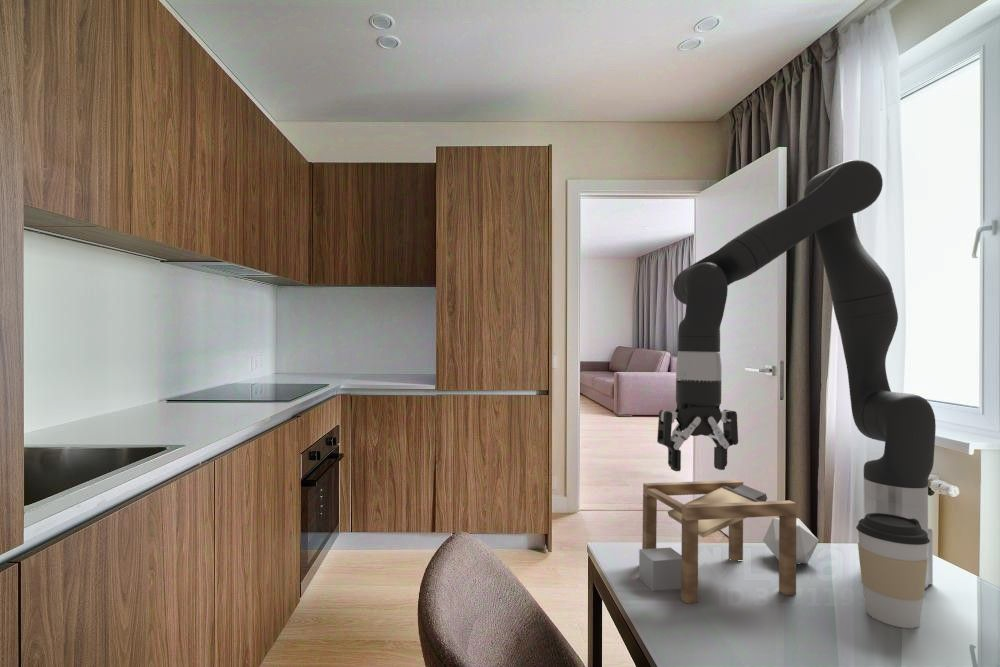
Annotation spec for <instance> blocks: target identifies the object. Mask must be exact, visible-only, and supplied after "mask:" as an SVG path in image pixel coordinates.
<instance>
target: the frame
mask: <svg viewBox="0 0 1000 667" xmlns="http://www.w3.org/2000/svg"><path fill="white" fill-rule="evenodd" d="M742 485H744V482H743V481H741V480H738V479H736V480H708V481H705V480H704V481H680V482H676V481H674V482H647V483H646V482H645V483H642V488H643V489H642V544H641V545H642V549H654V548H657V524H658V523H657V520H658V519H657V516H658V514H657V513H658V512H657V511H658V510H657V509H658V508H657V507H658V506H657V505H658V501H659V502H661V503H663V504H664V505H666V506H668V507H670V508H671V509H674V510H676V511H678V512H679V513H681V514H682V524H681V554H680V555H681V589H680V600H682V601H683V602H684V603H685V604H693V603H694V604H695V603H698V601H699V600H698V599H699V598H698V596H699V594H698V592H699V589H698V588H699V587H698V586H699V584H698V583H699V576H698V575H699V535H698V520H707V519H727V518H745V519H748V518H763V517H766V518H767V517H768V518H769V517H778V518H779V560H778V591H779V592H780V593H782V594H783V595H785V596H792V595H797V564H796V518H797V502H794V501H792V500H789V499H788V500H770V501H767V500H766V501H764V502H740V503H716V504H692V505H684V504H685V503H682V502H680V501H678V500H677V499H675V498H673V497H671V496H691V495H692V496H693V495H706V494H708V493H710V492H713V491H715V490H717V489H719V488H721V487H723V486H726V487H729V488H731V489H735V488H737V487H739V486H742ZM730 559H731V560H733V561H738V560H743V561H744V519H743V520H740V521H738V522H736V523H734V524H732V525H730V526H728V560H730ZM731 560H730V561H731ZM733 561H732V562H733Z"/></svg>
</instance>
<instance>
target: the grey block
mask: <svg viewBox="0 0 1000 667" xmlns="http://www.w3.org/2000/svg"><path fill="white" fill-rule="evenodd" d="M638 552H639V553H638V555H639V556H638V563H639V564H638V578H639V579H640V580H641V581H642V582H643V583H644V584H645V585H646V586H648V588H649V589H651V590H652V592H653V591H664V590H665V591H666V590H677V589H678V590H679V589H680V590H681V554H680V553H679V552H677V551H676V550H675V549H674V548H672V547H658V548H657V547H656V548H654V549H639V550H638Z"/></svg>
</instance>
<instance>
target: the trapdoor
mask: <svg viewBox="0 0 1000 667" xmlns="http://www.w3.org/2000/svg"><path fill="white" fill-rule="evenodd" d="M767 500H768V496H767V493H764V492H762V491H760V490H757V489H755V488H753V487H750V486H747V485H745V484H743V485H742V486H739V487H737V488H735V489H731V488H729V487H726V486H723V487H721V488H719V489H717V490H715V491H713V492H710V493H708V494H703V495H702V496H701V495H700V496H699V497H696V498H695V499H692V500H690V501H688V502H686V503H683V504H684V505H692V504H716V503H740V502H764V501H767ZM667 515H668V517H669V518H671V519H673V520H675V521H676V522H678V523H679V524H681V525H682V514H681V513H679V512H678V511H676V510H674V509H673V508H671V509H670V510H667ZM745 519H746V518H727V519H707V520H698V536H700V537H701V538H705V537H708V536H710V535H712V534H715V533H716V532H719V531H720V530H722V529H725V528H727V527H729V526H730V525H732V524H734V523H736V522H738V521H740V520H743V521H744V520H745Z"/></svg>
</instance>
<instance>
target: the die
mask: <svg viewBox="0 0 1000 667" xmlns="http://www.w3.org/2000/svg"><path fill="white" fill-rule="evenodd" d="M762 541H763V544H765V546H767V548H768V549H769V551H771V553H772V555H774V556H775V558H776V559H777V560H778V561H779V517H772V520H771V522H770V524H769V526H768V528H767V531H766V532H765V535H764V536H763V539H762ZM819 542H820V541H819V539H818V538H817V536H815V535H814V534H813V533H812V530H810V529H809V528H808V527H807V526H806V525H805V524H804V522H803V521H801V519H800V518H797V517H796V563H808V564H809V562H810V560H811V558H812V556H813V554H814V552H815V550H816V548H817V546H818V543H819Z"/></svg>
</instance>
